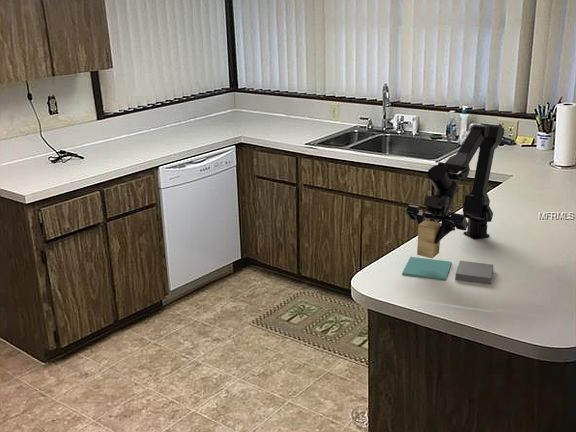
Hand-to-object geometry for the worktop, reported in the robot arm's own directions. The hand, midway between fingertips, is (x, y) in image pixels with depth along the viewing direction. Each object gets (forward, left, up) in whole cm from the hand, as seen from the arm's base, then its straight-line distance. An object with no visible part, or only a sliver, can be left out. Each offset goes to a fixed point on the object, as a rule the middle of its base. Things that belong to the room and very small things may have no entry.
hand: (426, 241), depth 192 cm
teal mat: (-1, +1, -10) cm, 10 cm away
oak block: (-1, +1, -5) cm, 5 cm away
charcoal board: (+9, +11, -10) cm, 17 cm away
